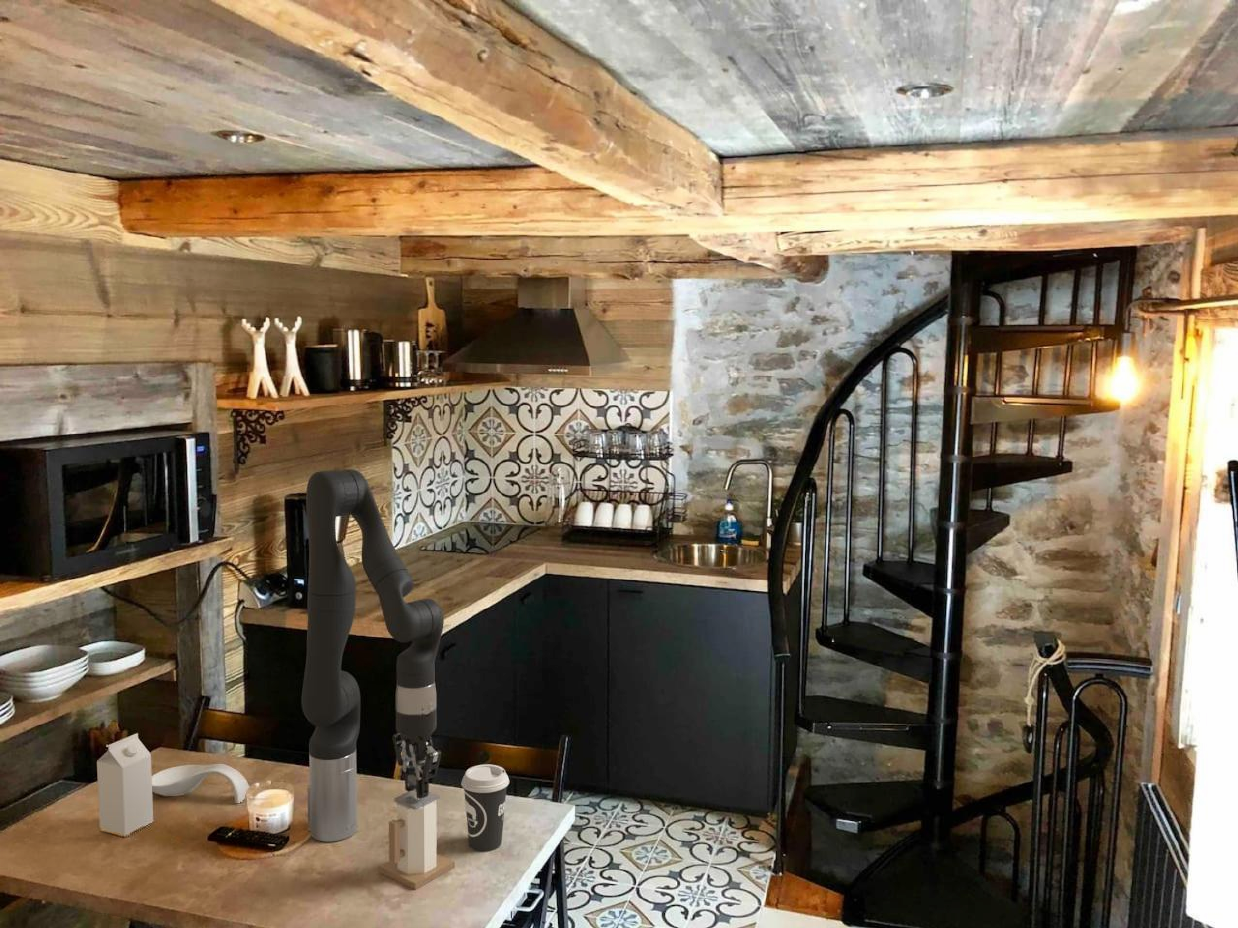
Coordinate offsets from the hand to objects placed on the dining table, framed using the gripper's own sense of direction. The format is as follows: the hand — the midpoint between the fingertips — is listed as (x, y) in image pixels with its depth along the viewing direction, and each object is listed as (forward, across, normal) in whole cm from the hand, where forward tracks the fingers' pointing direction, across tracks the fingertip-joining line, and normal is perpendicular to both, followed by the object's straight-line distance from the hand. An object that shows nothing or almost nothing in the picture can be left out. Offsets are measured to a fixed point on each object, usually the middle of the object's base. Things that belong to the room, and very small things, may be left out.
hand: (416, 792), depth 188 cm
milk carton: (+16, -55, -35) cm, 67 cm away
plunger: (+10, 0, 0) cm, 10 cm away
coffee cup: (+16, 0, +16) cm, 22 cm away
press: (+15, 0, 0) cm, 15 cm away
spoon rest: (+16, -61, -18) cm, 65 cm away
